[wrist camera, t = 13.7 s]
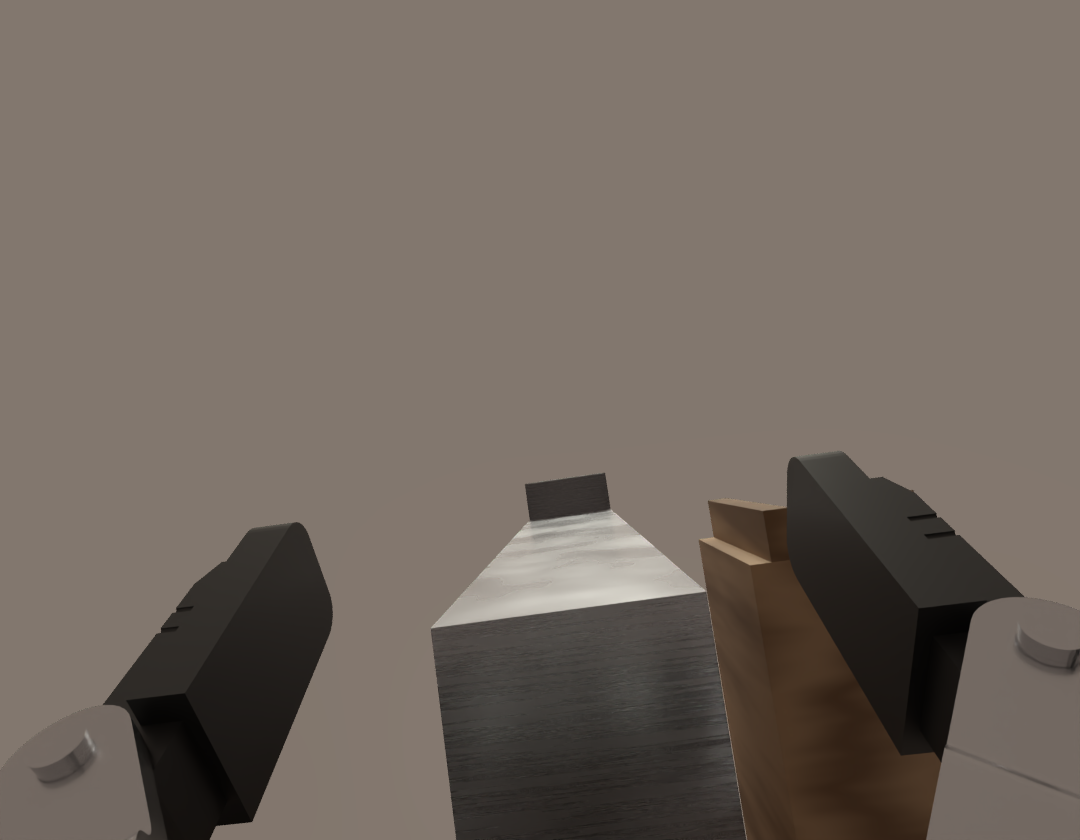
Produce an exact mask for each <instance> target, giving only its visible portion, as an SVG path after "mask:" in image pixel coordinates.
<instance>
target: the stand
mask: <svg viewBox="0 0 1080 840" xmlns="http://www.w3.org/2000/svg"><path fill="white" fill-rule="evenodd" d="M910 491H912V492H914V491H913V490H910ZM708 504H709V510H710V516H711V523H712V528H713V534H714V537H712V538H705V539H699V545H700V551H701V557H702V563H703V569H704V575H705V582H706V588H707V594H708V600H709V606H710V612H711V619H712V625H713V631H714V637H715V643H716V649H717V655H718V662H719V668H720V674H721V680H722V687H723V693H724V699H725V705H726V711H727V717H728V724H729V730H730V736H731V742H732V748H733V755H734V761H735V767H736V773H737V779H738V785H739V791H740V798H741V803H742V810H743V816H744V822H745V828H746V835H747V840H926V838H927V833H928V828H929V823H930V818H931V813H932V808H933V803H934V798H935V792H936V787H937V782H938V777H939V772H940V767H941V762H940V760H939V759H938V757H937V756H936V754H935V752H932V753H922V754H913V755H904V756H901V755H900V753H899V752H898V750H897V748H896V747H895V745H894V743H893V742H892V740H891V738H890V736H889V735H888V733H887V731H886V730H885V728H884V726H883V724H882V723H881V721H880V719H879V718H878V716H877V714H876V713H875V711H874V709H873V707H872V706H871V704H870V702H869V701H868V699H867V697H866V696H865V694H864V692H863V690H862V689H861V687H860V685H859V684H858V682H857V680H856V678H855V677H854V675H853V673H852V672H851V670H850V668H849V667H848V665H847V663H846V661H845V660H844V658H843V656H842V655H841V653H840V651H839V650H838V648H837V646H836V644H835V643H834V641H833V639H832V638H831V636H830V634H829V632H828V631H827V629H826V627H825V626H824V624H823V622H822V621H821V619H820V617H819V615H818V614H817V612H816V610H815V609H814V607H813V605H812V604H811V602H810V600H809V598H808V597H807V595H806V593H805V592H804V590H803V588H802V586H801V585H800V583H799V581H798V580H797V578H796V576H795V574H794V571H793V569H792V566H791V562H790V558H789V554H788V548H787V507H781V506H775V505H768V504H762V503H755V502H748V501H741V500H734V499H728V498H724V499H717V500H710V501H708Z"/></svg>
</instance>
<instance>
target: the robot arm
mask: <svg viewBox="0 0 1080 840" xmlns="http://www.w3.org/2000/svg"><path fill="white" fill-rule="evenodd" d="M787 548H788V554H789V558H790V562H791V566H792V569H793V571H794V574H795V576H796V578H797V580H798V581H799V583H800V585H801V586H802V588H803V590H804V592H805V593H806V595H807V597H808V598H809V600H810V602H811V604H812V605H813V607H814V609H815V610H816V612H817V614H818V615H819V617H820V619H821V621H822V622H823V624H824V626H825V627H826V629H827V631H828V632H829V634H830V636H831V638H832V639H833V641H834V643H835V644H836V646H837V648H838V650H839V651H840V653H841V655H842V656H843V658H844V660H845V661H846V663H847V665H848V667H849V668H850V670H851V672H852V673H853V675H854V677H855V678H856V680H857V682H858V684H859V685H860V687H861V689H862V690H863V692H864V694H865V696H866V697H867V699H868V701H869V702H870V704H871V706H872V707H873V709H874V711H875V713H876V714H877V716H878V718H879V719H880V721H881V723H882V724H883V726H884V728H885V730H886V731H887V733H888V735H889V736H890V738H891V740H892V742H893V743H894V745H895V747H896V748H897V750H898V752H899V753H900V755H901V756H904V755H913V754H922V753H932V752H935V754H936V756H937V757H938V759H939V760H940V762H941V767H940V772H939V777H938V782H937V787H936V792H935V798H934V803H933V808H932V813H931V818H930V823H929V828H928V833H927V838H926V840H1080V611H1079V610H1077V609H1074V608H1072V607H1069V606H1066V605H1063V604H1059V603H1055V602H1052V601H1047V600H1042V599H1036V598H1027V597H1024V596H1023V595H1022V594H1021V593H1020V592H1019V591H1018V590H1017V589H1016V588H1015V587H1014V586H1013V585H1012V584H1011V583H1009V582H1008V581H1007V580H1006V579H1005V578H1004V577H1003V576H1002V575H1001V574H1000V573H999V572H998V571H997V570H996V569H995V568H994V567H993V566H992V565H990V564H989V563H988V562H987V561H986V560H985V559H984V558H983V557H982V556H981V555H980V554H979V553H978V552H977V551H976V550H975V549H973V548H972V547H971V546H970V545H969V544H968V543H967V542H966V541H965V540H964V539H963V538H962V537H961V536H960V535H957V536H956V535H955V530H953V529H952V528H951V527H950V526H949V525H948V524H947V523H946V522H945V521H944V520H943V519H942V518H937V516H936V512H935V511H933V510H932V509H931V508H930V507H929V506H928V505H927V504H926V503H925V502H924V501H923V500H922V499H921V498H920V497H919V496H918V495H917V494H915V493H914V492H912V491H910V490H908V489H906V488H904V487H902V486H900V485H898V484H896V483H894V482H891V481H890V480H887V479H885V478H883V477H880V478H871V479H869V478H868V476H866V474H865V473H864V472H863V471H862V470H861V469H860V468H859V467H858V466H857V465H856V464H855V463H854V462H853V461H852V460H851V459H850V458H849V457H848V456H847V455H846V454H845V453H844V452H842V451H837V452H828V453H821V454H814V455H806V456H799V457H793V458H791V459H790V461H789V464H788V470H787ZM176 610H177V611H176V613H172V614H171V616H170V617H169V618H168V620H167V621H166V622H165V623H164V625H163V626H162V627H161V633H158V634H156V635H155V637H154V638H153V639H152V641H151V642H150V643H149V645H148V646H147V647H146V649H145V650H144V651H143V653H142V654H141V655H140V656H139V658H138V659H137V661H136V662H135V663H134V664H133V666H132V667H131V668H130V670H129V671H128V672H127V674H126V675H125V676H124V678H123V679H122V680H121V682H120V683H119V684H118V685H117V687H116V688H115V689H114V691H113V692H112V693H111V695H110V696H109V697H108V699H107V700H106V701H105V703H104V704H103V705H102V706H95V707H91V708H87V709H84V710H81V711H78V712H75V713H73V714H71V715H69V716H67V717H64V718H62V719H60V720H59V721H57V722H55V723H53V724H52V725H50V726H48V727H47V728H45V729H44V730H42V731H41V732H39V733H38V734H36V735H35V736H34V737H33V738H31V739H30V740H29V741H27V742H26V743H25V744H24V745H23V746H22V747H20V748H19V749H18V750H17V751H16V752H15V753H14V754H13V755H12V756H11V757H10V758H9V760H8V761H7V762H6V763H5V765H4V766H3V767H2V768H1V770H0V840H210V837H211V835H212V833H213V831H214V829H215V827H216V826H220V825H229V824H239V823H248V822H252V821H253V818H254V816H255V814H256V811H257V809H258V806H259V804H260V802H261V799H262V797H263V794H264V792H265V789H266V787H267V785H268V782H269V779H270V777H271V775H272V772H273V770H274V768H275V765H276V763H277V760H278V758H279V755H280V753H281V750H282V748H283V746H284V743H285V741H286V738H287V736H288V734H289V731H290V729H291V726H292V724H293V722H294V719H295V717H296V714H297V712H298V709H299V707H300V705H301V702H302V699H303V697H304V695H305V692H306V690H307V688H308V685H309V683H310V680H311V678H312V675H313V673H314V670H315V668H316V666H317V663H318V661H319V658H320V656H321V653H322V651H323V649H324V646H325V644H326V641H327V639H328V636H329V634H330V631H331V626H332V617H333V616H332V615H333V614H332V613H333V611H332V602H331V597H330V594H329V591H328V588H327V585H326V583H325V580H324V577H323V574H322V571H321V568H320V566H319V563H318V560H317V558H316V555H315V552H314V549H313V546H312V543H311V541H310V538H309V535H308V533H307V531H306V529H305V528H304V526H303V525H302V524H300V523H297V522H296V523H287V524H280V525H273V526H265V527H258V528H253V529H251V530H249V531H248V533H247V534H246V535H245V536H244V538H243V539H242V540H241V542H240V543H239V545H238V546H237V547H236V549H235V550H234V552H233V553H232V554H231V556H230V557H229V558H228V560H227V561H226V562H222V563H220V564H219V565H218V566H217V567H215V568H214V569H213V570H211V571H210V572H209V573H208V574H207V575H205V576H204V577H203V578H201V579H200V580H199V581H198V582H196V583H195V584H194V585H193V587H192V588H191V589H190V591H189V592H188V594H187V595H186V596H185V597H184V599H183V600H182V601H181V603H180V604H179V605H178V606H177V608H176Z"/></svg>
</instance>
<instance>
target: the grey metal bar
mask: <svg viewBox="0 0 1080 840" xmlns="http://www.w3.org/2000/svg"><path fill="white" fill-rule="evenodd" d="M525 488H526V495H527V502H528V510H529V517H530V521H529V522H528V523H527V524H526V525H525V526H524V527H523V528H522V529H521V530H520V531H519V533H518V534H517V535H516V536H515V537H514V538H513V539H512V540H511V541H510V542H509V543H508V545H507V546H506V547H505V548H504V549H503V550H502V551H501V552H500V553H499V554H498V555H497V557H496V558H495V559H494V560H493V561H492V562H491V563H490V564H489V565H488V566H487V567H486V568H485V570H484V571H483V572H482V573H481V574H480V575H479V576H478V577H477V578H476V579H475V581H474V582H473V583H472V584H471V585H470V586H469V587H468V588H467V589H466V590H465V591H464V593H463V594H462V595H461V596H460V597H459V598H458V599H457V600H456V601H455V602H454V603H453V604H452V606H451V607H450V608H449V609H448V610H447V611H446V612H445V613H444V614H443V615H442V616H441V618H440V619H439V620H438V621H437V622H436V623H435V624H434V625H433V626H432V627H431V635H432V643H433V651H434V659H435V668H436V676H437V684H438V692H439V701H440V709H441V717H442V725H443V734H444V742H445V750H446V758H447V767H448V775H449V783H450V791H451V800H452V808H453V816H454V824H455V832H456V840H746V835H745V829H744V823H743V817H742V810H741V804H740V798H739V792H738V786H737V779H736V773H735V767H734V761H733V755H732V748H731V742H730V736H729V730H728V724H727V718H726V711H725V705H724V699H723V693H722V687H721V680H720V674H719V668H718V662H717V656H716V650H715V643H714V637H713V631H712V625H711V619H710V612H709V607H708V601H707V594H706V591H705V590H704V589H703V588H701V587H700V586H699V585H698V584H697V583H695V581H693V580H692V579H691V578H690V577H689V576H688V575H686V574H685V573H684V572H683V571H682V570H681V569H679V568H678V567H677V566H676V565H675V564H674V563H672V562H671V561H670V560H669V559H668V558H667V557H666V556H664V555H663V554H662V553H661V552H660V551H659V550H657V549H656V548H655V547H654V546H653V545H652V544H650V543H649V542H648V541H647V540H646V539H645V538H643V537H642V536H641V535H640V534H639V533H638V532H637V531H635V530H634V529H633V528H632V527H631V526H630V525H628V524H627V523H626V522H625V521H624V520H623V519H622V518H620V517H619V516H618V515H617V514H616V513H615V512H613V511H612V510H611V509H610V504H609V496H608V490H607V483H606V477H605V473H599V474H592V475H584V476H577V477H570V478H563V479H556V480H549V481H541V482H535V483H529V484H525Z"/></svg>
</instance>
